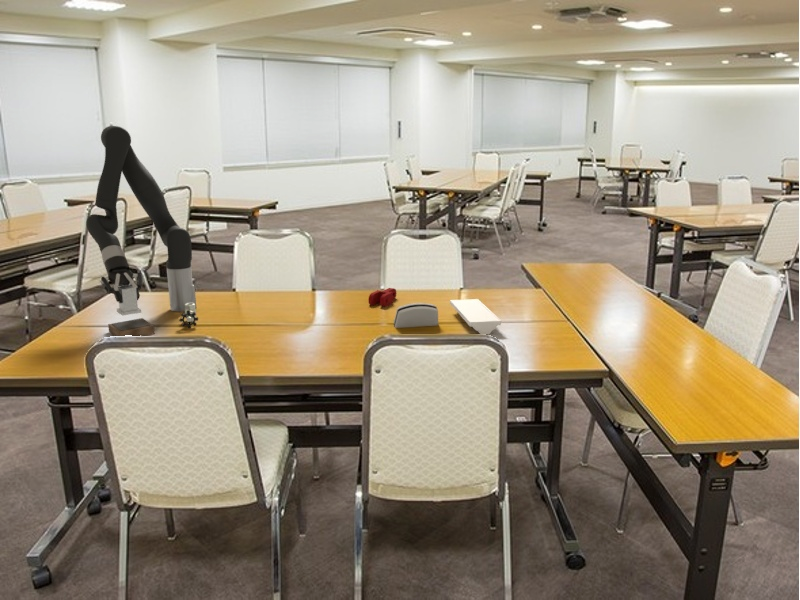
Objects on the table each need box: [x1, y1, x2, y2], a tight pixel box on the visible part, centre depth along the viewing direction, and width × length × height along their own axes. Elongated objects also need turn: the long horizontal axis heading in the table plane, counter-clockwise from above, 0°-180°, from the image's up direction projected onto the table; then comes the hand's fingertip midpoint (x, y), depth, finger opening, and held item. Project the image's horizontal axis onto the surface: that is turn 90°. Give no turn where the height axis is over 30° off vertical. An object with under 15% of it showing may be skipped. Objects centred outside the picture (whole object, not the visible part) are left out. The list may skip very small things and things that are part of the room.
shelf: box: [449, 298, 502, 336], centre depth 242 cm, size 12×30×5 cm, turn 9°
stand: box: [107, 317, 155, 337], centre depth 228 cm, size 12×12×3 cm
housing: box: [116, 285, 142, 316], centre depth 226 cm, size 6×6×9 cm
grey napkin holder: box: [393, 302, 439, 329], centre depth 237 cm, size 17×5×10 cm, turn 102°
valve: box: [179, 303, 199, 329], centre depth 239 cm, size 7×7×12 cm
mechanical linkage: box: [368, 287, 397, 308], centre depth 269 cm, size 16×7×5 cm, turn 153°
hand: (129, 300), depth 224 cm, fingers closed on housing, 5 cm apart
